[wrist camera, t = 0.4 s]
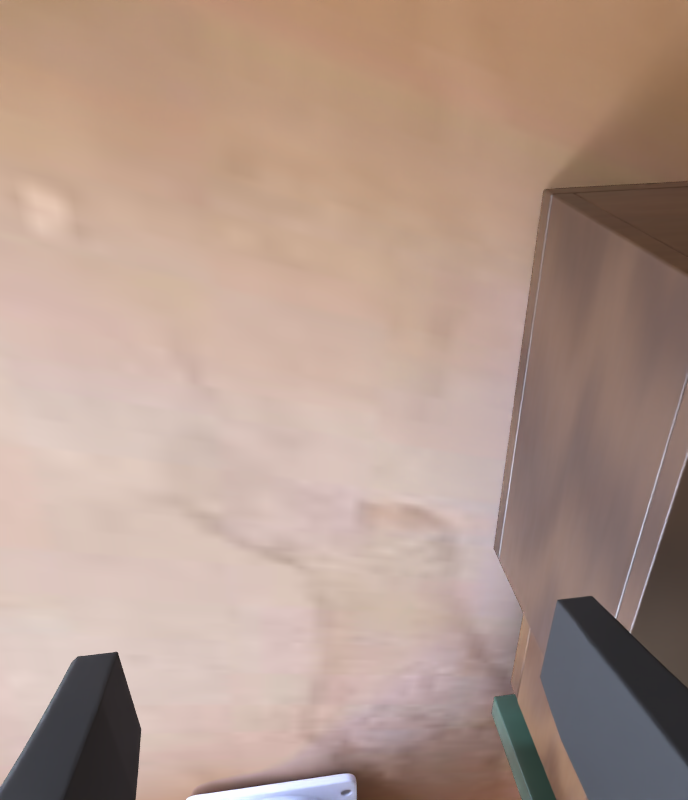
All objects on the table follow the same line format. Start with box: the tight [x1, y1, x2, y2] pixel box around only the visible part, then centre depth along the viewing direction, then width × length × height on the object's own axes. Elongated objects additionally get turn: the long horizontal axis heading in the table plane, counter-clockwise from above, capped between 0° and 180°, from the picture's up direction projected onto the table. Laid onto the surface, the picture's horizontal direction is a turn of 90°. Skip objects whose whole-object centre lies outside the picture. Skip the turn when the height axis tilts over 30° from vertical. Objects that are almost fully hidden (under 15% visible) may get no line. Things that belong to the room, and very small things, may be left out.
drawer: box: [492, 613, 588, 800], centre depth 24 cm, size 16×10×6 cm, turn 1°
